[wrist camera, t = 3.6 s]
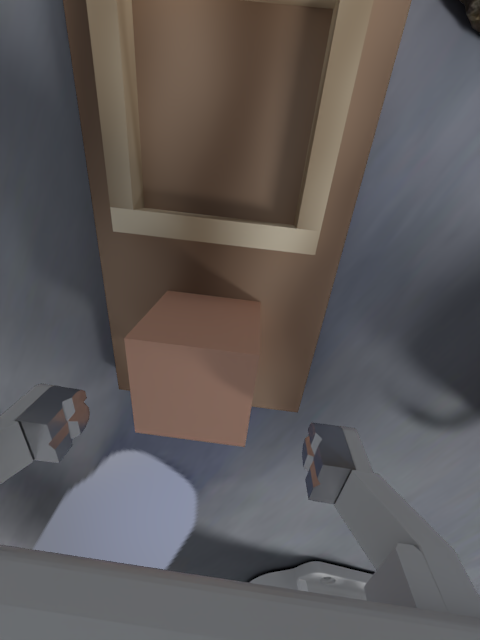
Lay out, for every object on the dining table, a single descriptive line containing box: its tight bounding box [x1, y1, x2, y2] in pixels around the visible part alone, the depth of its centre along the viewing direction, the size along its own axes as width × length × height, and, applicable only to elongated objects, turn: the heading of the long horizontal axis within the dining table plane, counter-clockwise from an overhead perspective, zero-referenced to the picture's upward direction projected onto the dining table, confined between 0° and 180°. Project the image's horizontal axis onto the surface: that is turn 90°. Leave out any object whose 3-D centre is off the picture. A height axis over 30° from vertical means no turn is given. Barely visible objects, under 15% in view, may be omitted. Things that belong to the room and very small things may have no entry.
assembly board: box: [63, 0, 412, 412], centre depth 13 cm, size 12×20×3 cm, turn 174°
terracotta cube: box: [124, 291, 260, 447], centre depth 13 cm, size 5×5×5 cm
